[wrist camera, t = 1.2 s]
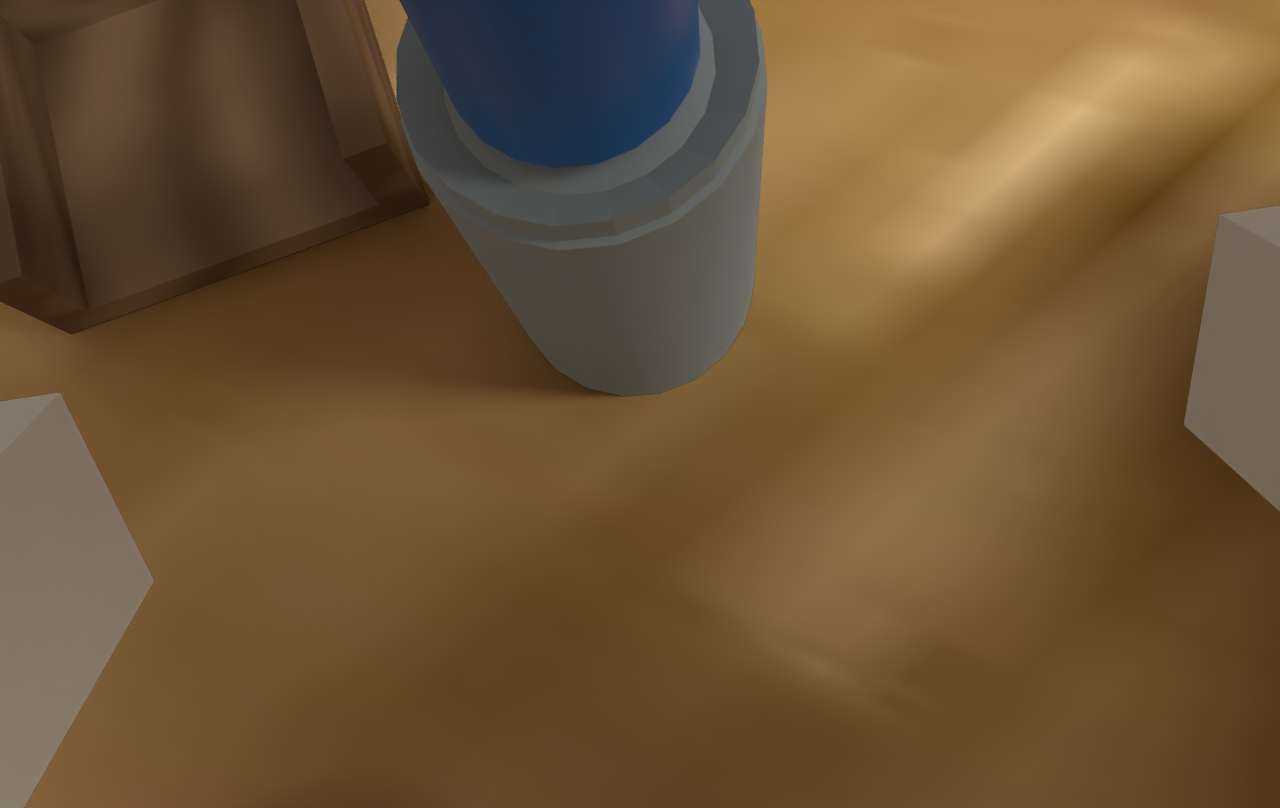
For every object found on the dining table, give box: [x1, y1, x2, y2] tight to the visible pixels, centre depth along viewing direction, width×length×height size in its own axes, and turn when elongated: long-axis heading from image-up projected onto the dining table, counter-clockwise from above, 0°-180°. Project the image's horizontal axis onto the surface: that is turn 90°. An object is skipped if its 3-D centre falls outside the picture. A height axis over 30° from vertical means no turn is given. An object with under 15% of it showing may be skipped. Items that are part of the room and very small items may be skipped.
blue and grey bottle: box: [397, 0, 767, 396], centre depth 24 cm, size 9×9×25 cm
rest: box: [0, 0, 429, 334], centre depth 37 cm, size 15×14×5 cm
